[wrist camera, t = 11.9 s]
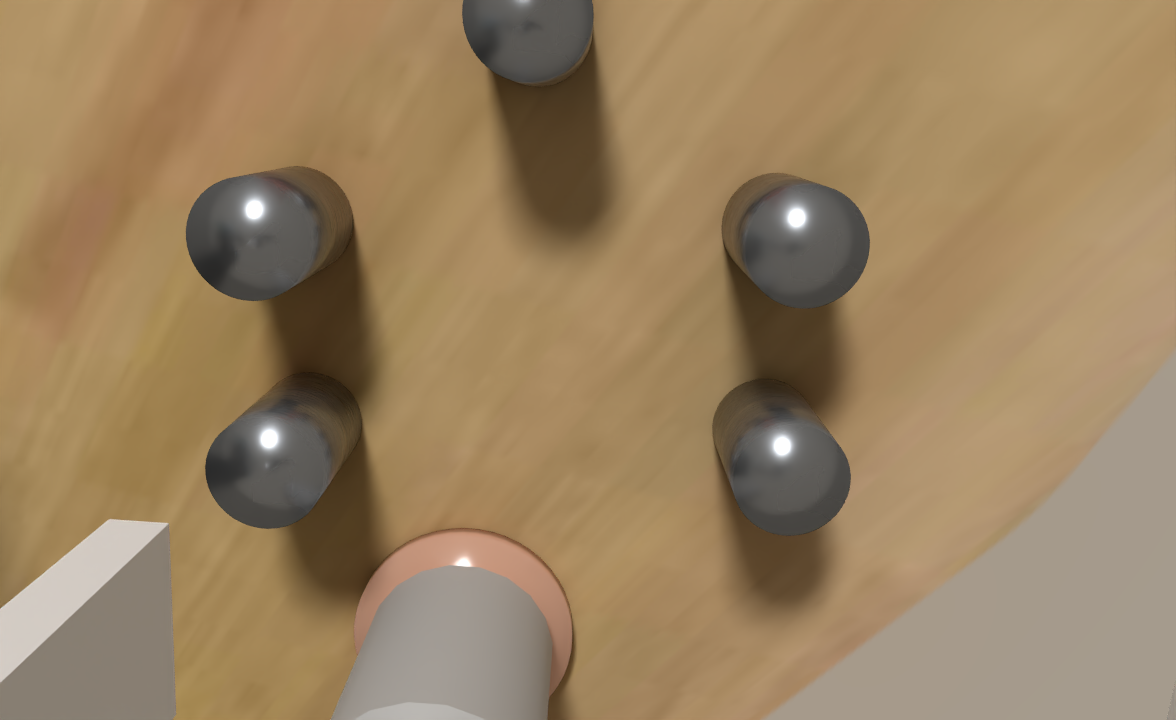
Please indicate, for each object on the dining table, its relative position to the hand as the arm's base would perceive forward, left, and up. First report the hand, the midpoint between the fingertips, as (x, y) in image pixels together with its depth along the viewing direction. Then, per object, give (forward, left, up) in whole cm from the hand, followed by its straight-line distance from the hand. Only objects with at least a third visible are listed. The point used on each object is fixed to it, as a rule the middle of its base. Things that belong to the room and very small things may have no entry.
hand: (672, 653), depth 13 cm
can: (-6, -14, -26) cm, 30 cm away
